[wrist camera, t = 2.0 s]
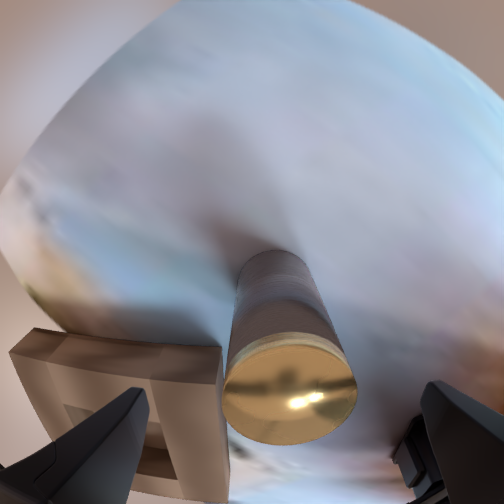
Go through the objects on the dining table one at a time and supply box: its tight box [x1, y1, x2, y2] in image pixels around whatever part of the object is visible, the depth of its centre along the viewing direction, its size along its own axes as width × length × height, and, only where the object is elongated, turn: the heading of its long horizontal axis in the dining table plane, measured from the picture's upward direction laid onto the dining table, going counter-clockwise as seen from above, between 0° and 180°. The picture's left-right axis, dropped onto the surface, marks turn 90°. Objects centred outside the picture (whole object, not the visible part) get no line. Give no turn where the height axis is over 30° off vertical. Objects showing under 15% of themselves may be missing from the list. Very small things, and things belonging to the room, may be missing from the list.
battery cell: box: [222, 250, 357, 445], centre depth 13 cm, size 4×4×9 cm
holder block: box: [9, 328, 230, 503], centre depth 19 cm, size 14×14×4 cm
